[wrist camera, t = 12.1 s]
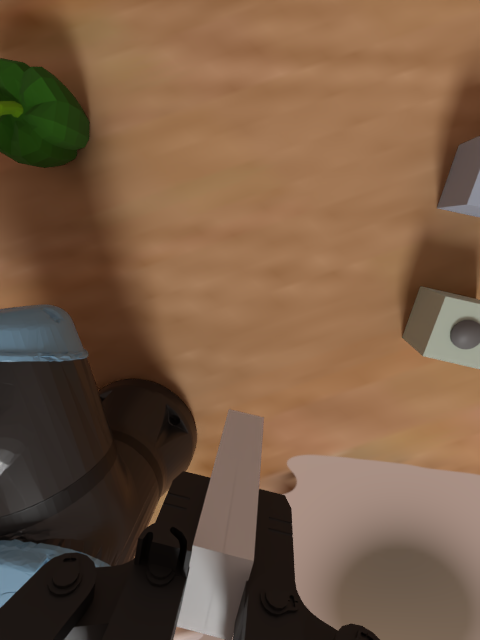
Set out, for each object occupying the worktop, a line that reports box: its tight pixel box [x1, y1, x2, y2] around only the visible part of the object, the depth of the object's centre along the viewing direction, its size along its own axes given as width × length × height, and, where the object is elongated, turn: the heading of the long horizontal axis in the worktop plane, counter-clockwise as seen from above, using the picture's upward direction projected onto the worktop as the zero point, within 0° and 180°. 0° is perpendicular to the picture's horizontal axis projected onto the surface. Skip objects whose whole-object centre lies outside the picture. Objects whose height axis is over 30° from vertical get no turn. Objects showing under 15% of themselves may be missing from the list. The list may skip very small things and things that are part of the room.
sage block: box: [402, 286, 480, 369], centre depth 36 cm, size 6×6×6 cm
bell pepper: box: [0, 58, 89, 168], centre depth 33 cm, size 8×8×10 cm
